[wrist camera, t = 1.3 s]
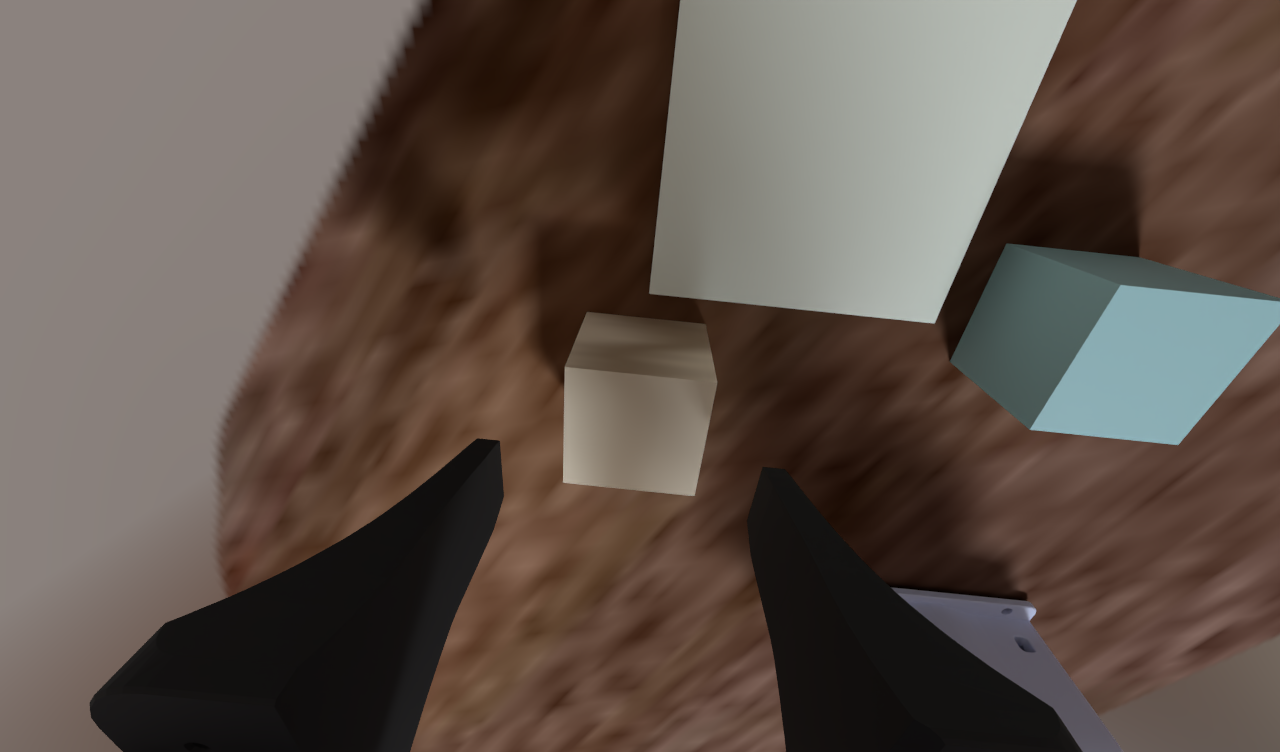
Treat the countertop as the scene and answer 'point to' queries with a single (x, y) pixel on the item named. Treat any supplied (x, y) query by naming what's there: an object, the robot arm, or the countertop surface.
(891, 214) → the baseplate
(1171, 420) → the brick top
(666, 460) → the brick base
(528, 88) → the countertop surface
